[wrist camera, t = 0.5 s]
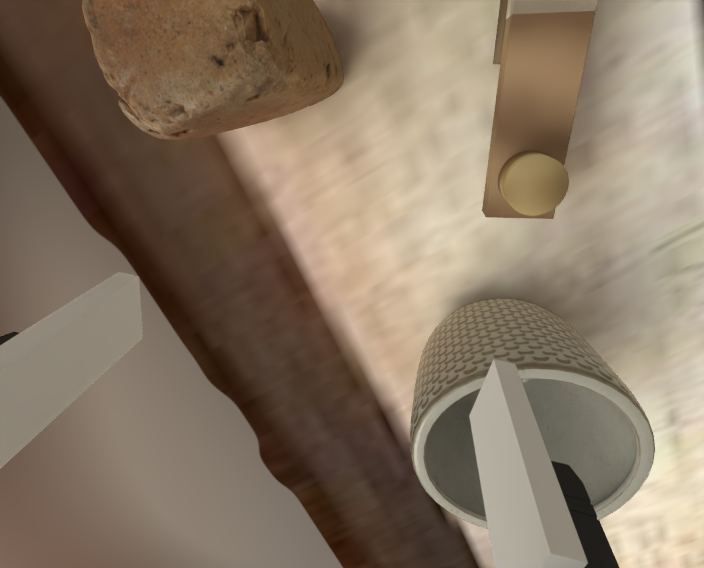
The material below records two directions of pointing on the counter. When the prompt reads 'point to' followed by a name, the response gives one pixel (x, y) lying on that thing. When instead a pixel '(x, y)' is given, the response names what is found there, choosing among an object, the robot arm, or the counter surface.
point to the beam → (535, 104)
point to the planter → (545, 400)
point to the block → (212, 61)
